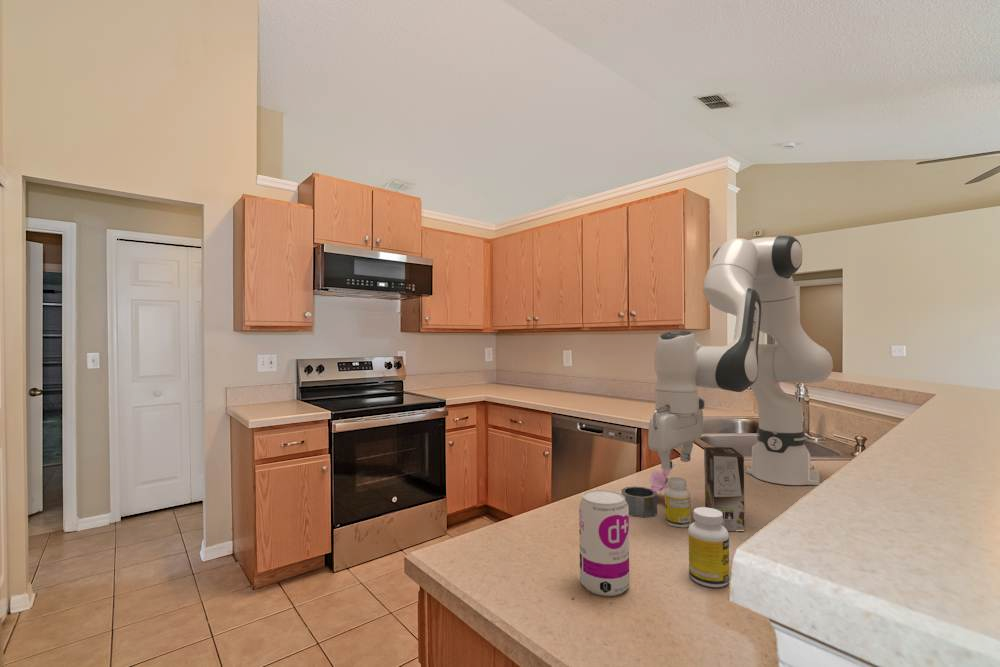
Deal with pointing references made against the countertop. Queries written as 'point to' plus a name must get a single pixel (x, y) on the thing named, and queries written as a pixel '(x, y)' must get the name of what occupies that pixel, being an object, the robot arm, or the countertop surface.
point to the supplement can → (604, 542)
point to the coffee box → (725, 485)
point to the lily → (660, 479)
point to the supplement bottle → (677, 503)
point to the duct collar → (640, 501)
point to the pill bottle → (708, 548)
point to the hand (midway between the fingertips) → (676, 465)
